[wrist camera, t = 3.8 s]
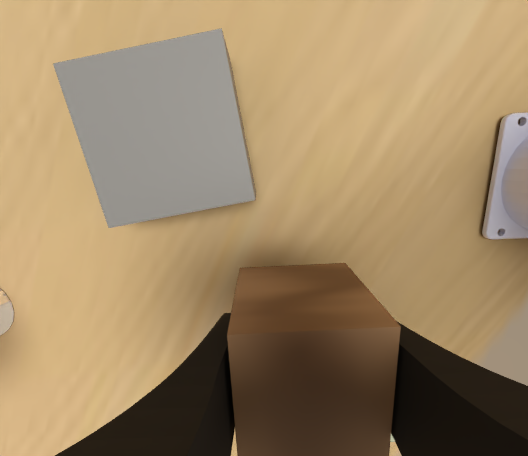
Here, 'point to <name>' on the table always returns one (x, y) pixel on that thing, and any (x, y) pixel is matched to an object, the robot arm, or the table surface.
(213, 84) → the grey square block
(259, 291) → the walnut block
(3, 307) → the wineglass
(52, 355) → the table surface
